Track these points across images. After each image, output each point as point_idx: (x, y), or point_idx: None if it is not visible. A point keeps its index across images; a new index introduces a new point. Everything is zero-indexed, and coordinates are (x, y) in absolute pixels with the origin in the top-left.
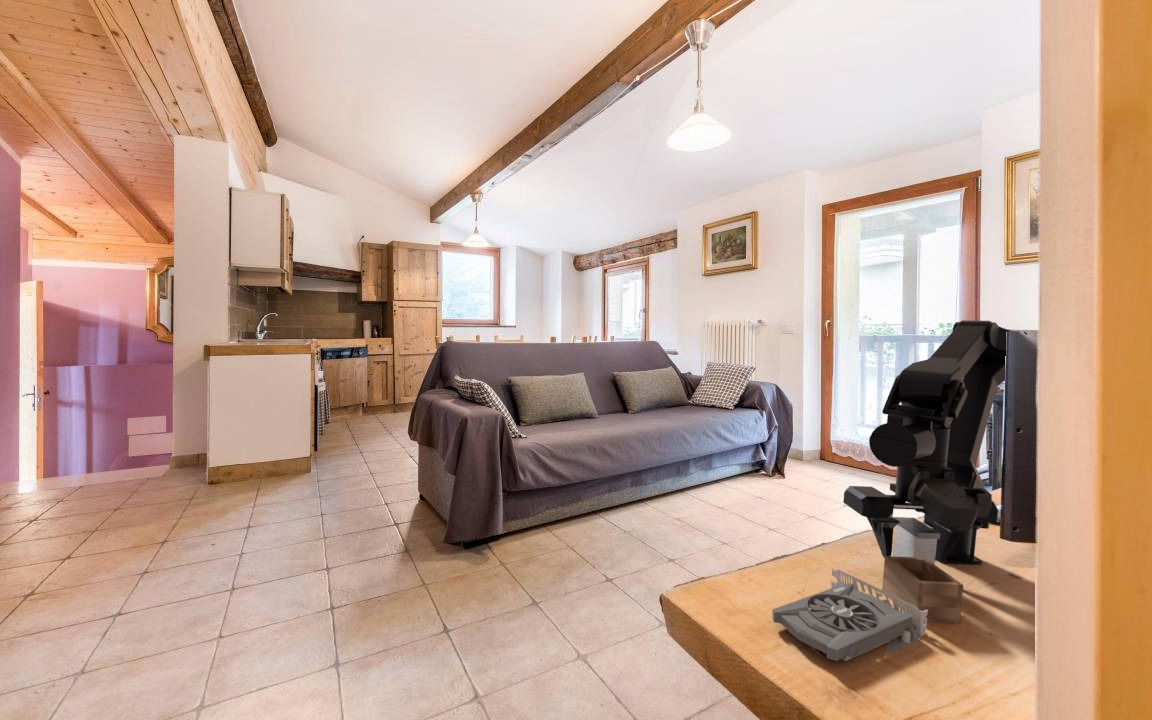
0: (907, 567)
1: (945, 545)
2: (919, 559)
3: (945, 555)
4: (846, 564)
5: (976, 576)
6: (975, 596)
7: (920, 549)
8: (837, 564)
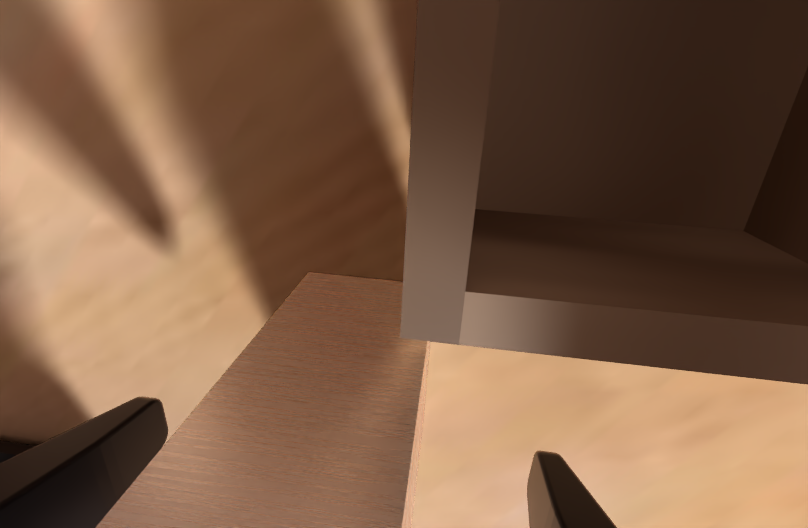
0: (637, 262)
1: (9, 513)
2: (515, 299)
3: (90, 431)
4: (653, 490)
5: (18, 349)
6: (121, 166)
7: (333, 481)
8: (712, 495)
